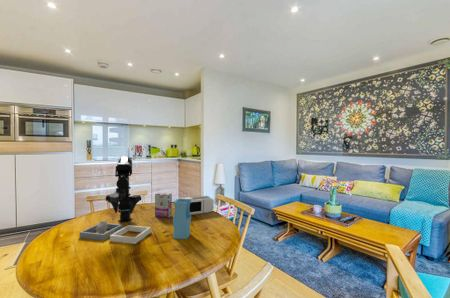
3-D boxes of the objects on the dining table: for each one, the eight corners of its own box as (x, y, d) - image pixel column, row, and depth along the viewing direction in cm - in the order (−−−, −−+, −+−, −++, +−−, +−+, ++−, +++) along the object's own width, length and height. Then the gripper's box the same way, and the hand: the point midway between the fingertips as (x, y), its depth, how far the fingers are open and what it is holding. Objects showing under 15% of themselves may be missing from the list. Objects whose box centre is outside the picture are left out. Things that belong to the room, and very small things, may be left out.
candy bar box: (172, 216, 154) (172, 193, 154) (168, 218, 149) (168, 194, 149) (158, 214, 157) (158, 192, 157) (154, 216, 153) (154, 193, 152)
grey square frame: (100, 227, 132) (100, 222, 132) (122, 229, 129) (122, 224, 129) (79, 237, 117) (79, 232, 117) (103, 240, 114) (103, 234, 114)
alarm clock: (177, 217, 151) (177, 200, 151) (174, 213, 160) (174, 197, 160) (213, 212, 163) (213, 197, 163) (209, 209, 171) (209, 194, 171)
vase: (186, 239, 116) (186, 202, 116) (172, 238, 118) (172, 201, 117) (191, 233, 124) (191, 199, 123) (178, 232, 125) (178, 198, 125)
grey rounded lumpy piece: (110, 231, 127) (110, 219, 127) (104, 236, 120) (104, 223, 120) (99, 231, 126) (99, 219, 126) (93, 236, 119) (92, 223, 119)
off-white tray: (128, 230, 128) (128, 225, 128) (151, 232, 125) (151, 227, 125) (109, 241, 113) (109, 235, 113) (135, 243, 110) (135, 238, 110)
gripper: (97, 187, 114) (98, 216, 114) (129, 189, 110) (129, 219, 111) (112, 183, 125) (112, 210, 125) (141, 185, 121) (141, 212, 122)
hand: (123, 213), depth 120 cm, fingers open, 9 cm apart
